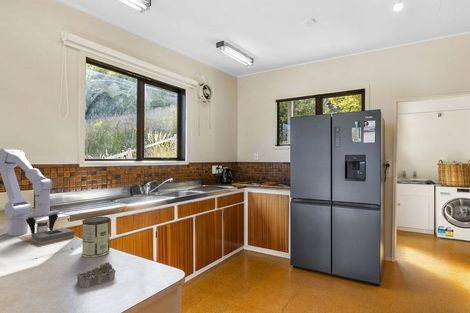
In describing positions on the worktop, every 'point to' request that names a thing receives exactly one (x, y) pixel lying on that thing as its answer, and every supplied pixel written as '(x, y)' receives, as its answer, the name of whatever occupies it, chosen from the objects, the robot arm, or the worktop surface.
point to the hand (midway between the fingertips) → (42, 231)
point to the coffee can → (96, 236)
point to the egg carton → (96, 275)
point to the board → (28, 239)
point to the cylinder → (42, 227)
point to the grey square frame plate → (52, 235)
